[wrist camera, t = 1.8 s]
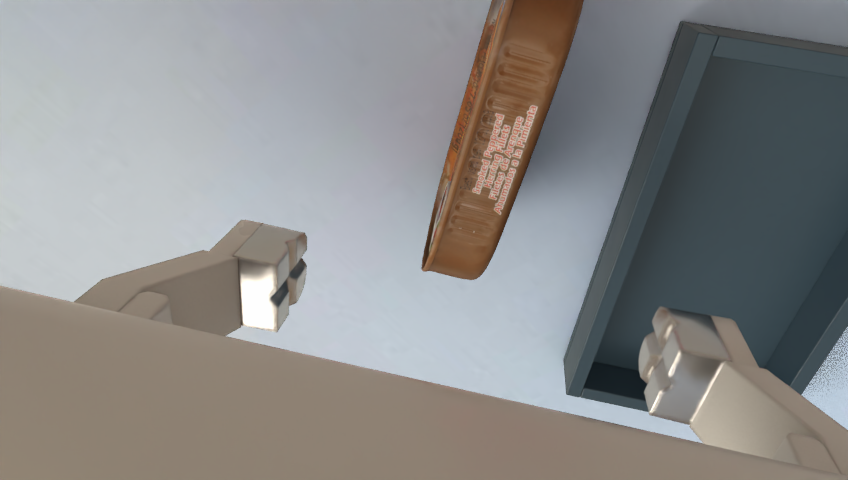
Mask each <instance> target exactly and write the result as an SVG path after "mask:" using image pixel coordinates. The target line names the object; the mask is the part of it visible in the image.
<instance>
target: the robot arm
mask: <svg viewBox="0 0 848 480" xmlns="http://www.w3.org/2000/svg"><path fill="white" fill-rule="evenodd" d="M306 250H307V237H306V235H305V233H303V232H299V231H294V230H290V229H286V228H281V227H277V226H272V225H268V224H263V223H259V222H254V221H249V220H241V221H240V222H239V223H238V224H237V225H236V226H235V227H233V228H232V229H231V230H230V231H229V232H228V233H227V234H226V235H225V236H224V237H223V238H222V239H221V240H220V241H219V242H218V243H217V244H216V245H215V246H214V247H213V248H212V249H211V250H210V251H204V250H202V251H198V252H195V253H191V254H188V255H185V256H181V257H178V258H174V259H171V260H167V261H164V262H160V263H157V264H153V265H150V266H147V267H143V268H140V269H136V270H133V271H129V272H126V273H122V274H119V275H115V276H112V277H109V278H105V279H102V280H101V281H99V282H98V283H97V284H96V285H94V286H93V287H92V288H91V289H89V290H88V291H87V292H86V293H84V294H83V295H82V296H81V297H79V298H78V299H77V300H76V301H74V302H71V301H66V300H62V299H57V298H53V297H48V296H44V295H39V294H35V293H31V292H26V291H22V290H17V289H13V288H8V287H4V286H0V480H848V430H847V429H845V428H844V427H843V426H841V425H840V424H839V423H837V422H836V421H835V420H833V419H832V418H831V417H829V416H828V415H827V414H825V413H824V412H823V411H821V410H820V409H819V408H817V407H816V406H815V405H813V404H812V403H811V402H809V401H808V400H807V399H805V398H804V397H803V396H801V395H800V394H799V393H797V392H796V391H795V390H793V389H792V388H791V387H789V386H788V385H787V384H785V383H784V382H783V381H781V380H780V379H779V378H778V377H776V376H775V375H774V374H772V373H771V372H770V371H768V370H767V369H763V368H759V366H758V365H757V363H756V361H755V359H754V357H753V355H752V353H751V351H750V349H749V347H748V345H747V343H746V342H745V340H744V338H743V336H742V334H741V332H740V330H739V328H738V326H737V324H736V322H735V321H733V320H732V319H730V318H724V317H718V316H712V315H706V314H700V313H694V312H689V311H683V310H678V309H672V308H667V307H661V306H660V307H659V309H658V310H657V311H656V313H655V315H654V317H653V319H652V323H653V327H654V330H655V331H653V332H652V333H650V334H649V335H647V336H645V338H644V341H643V343H642V346H641V348H640V354H639V360H638V363H639V373H640V377H641V378H642V379H643V380H644V381H645V382H646V383H647V386H646V389H645V391H644V395H645V399H646V403H647V407H648V411H649V415H652V416H656V417H660V418H664V419H668V420H672V421H676V422H680V423H684V424H688V425H690V428H691V429H692V430H693V431H694V433H695V434H696V435H697V436H698V437H699V439H700V440H701V441H702V442H703V443H704V444H703V443H699V442H694V441H690V440H685V439H681V438H676V437H672V436H667V435H663V434H658V433H654V432H650V431H645V430H641V429H636V428H632V427H627V426H623V425H618V424H614V423H609V422H605V421H600V420H596V419H592V418H587V417H583V416H578V415H574V414H569V413H565V412H560V411H556V410H551V409H547V408H543V407H538V406H534V405H529V404H525V403H520V402H516V401H511V400H507V399H502V398H498V397H494V396H489V395H485V394H480V393H476V392H471V391H467V390H462V389H458V388H453V387H449V386H445V385H440V384H436V383H431V382H427V381H422V380H418V379H413V378H409V377H404V376H400V375H396V374H391V373H387V372H382V371H378V370H373V369H369V368H364V367H360V366H355V365H351V364H347V363H342V362H338V361H333V360H329V359H324V358H320V357H315V356H311V355H306V354H302V353H298V352H293V351H289V350H284V349H280V348H275V347H271V346H266V345H262V344H258V343H253V342H249V341H244V340H240V339H235V338H231V337H226V335H228V334H229V333H231V332H233V331H235V330H237V329H238V328H240V327H241V325H242V326H248V327H253V328H258V329H263V330H268V331H273V332H278V330H279V329H280V327H281V326H282V324H283V322H284V321H285V319H286V318H287V316H288V315H289V306H290V305H292V304H295V303H296V302H297V301H298V299H299V297H300V296H301V293H302V290H303V288H304V285H305V279H306V268H307V265H306V264H305V262H304V261H303V259H302V258H301V257H302V256H303V254H304V253H305V252H306Z"/></svg>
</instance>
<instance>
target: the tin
mask: <svg viewBox="0 0 848 480" xmlns="http://www.w3.org/2000/svg"><path fill="white" fill-rule="evenodd" d="M583 1H584V0H492V2H491V6H490V9H489V12H488V15H487V19H486V22H485V26H484V29H483V33H482V36H481V40H480V43H479V46H478V50H477V54H476V57H475V61H474V64H473V67H472V71H471V74H470V78H469V81H468V85H467V88H466V92H465V95H464V98H463V102H462V105H461V109H460V112H459V116H458V119H457V122H456V126H455V129H454V133H453V136H452V140H451V143H450V147H449V150H448V154H447V157H446V161H445V165H444V169H443V173H442V176H441V180H440V184H439V187H438V191H437V195H436V200H435V203H434V208H433V212H432V217H431V222H430V226H429V231H428V236H427V241H426V245H425V249H424V256H423V260H422V271H433V272H437V273H441V274H445V275H449V276H453V277H457V278H462V279H468V280H474V279H477V278H478V277H479V276H480V275H482V273H483V272H484V271H485V269H486V268H487V266H488V264H489V262H490V260H491V258H492V256H493V254H494V252H495V250H496V247H497V245H498V242H499V240H500V237H501V235H502V232H503V230H504V227H505V224H506V222H507V219H508V217H509V214H510V211H511V209H512V206H513V204H514V201H515V199H516V196H517V193H518V190H519V188H520V186H521V183H522V180H523V178H524V175H525V172H526V170H527V167H528V164H529V162H530V159H531V156H532V153H533V151H534V148H535V145H536V143H537V140H538V138H539V135H540V132H541V129H542V126H543V124H544V121H545V118H546V115H547V113H548V110H549V108H550V105H551V102H552V99H553V96H554V93H555V91H556V88H557V85H558V82H559V79H560V77H561V74H562V71H563V68H564V66H565V63H566V60H567V57H568V54H569V50H570V47H571V44H572V41H573V38H574V35H575V31H576V28H577V24H578V21H579V17H580V14H581V10H582V5H583Z"/></svg>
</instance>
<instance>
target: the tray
mask: <svg viewBox="0 0 848 480" xmlns="http://www.w3.org/2000/svg"><path fill="white" fill-rule="evenodd" d="M660 306H661V307H667V308H672V309H678V310H683V311H689V312H694V313H700V314H706V315H712V316H718V317H724V318H730V319H732V320H733V321H735V322H736V324H737V326H738V328H739V330H740V332H741V334H742V336H743V338H744V340H745V342H746V343H747V345H748V347H749V349H750V351H751V353H752V355H753V357H754V359H755V361H756V363H757V365H758V366H759V368H763V369H767V370H768V371H770V372H771V373H772V374H774V375H775V376H776V377H778V378H779V379H780V380H781V381H783V382H784V383H785V384H787V385H788V386H789V387H791V388H792V389H793V390H795V391H796V392H797V393H799V394H800V395H801V394H802V393H803V391H804V390H805V388H806V387H807V385H808V384H809V382H810V381H811V379H812V378H813V376H814V375H815V374H816V372H817V371H818V369H819V368H820V366H821V365H822V363H823V362H824V360H825V359H826V357H827V356H828V354H829V353H830V351H831V350H832V348H833V347H834V345H835V344H836V342H837V341H838V339H839V338H840V336H841V335H842V333H843V332H844V330H845V329H846V327H847V326H848V47H842V46H835V45H829V44H823V43H817V42H810V41H804V40H798V39H791V38H785V37H779V36H773V35H766V34H760V33H754V32H748V31H741V30H735V29H729V28H722V27H716V26H710V25H704V24H697V23H691V22H685V21H681V22H680V25H679V28H678V31H677V34H676V37H675V40H674V42H673V45H672V48H671V51H670V54H669V57H668V60H667V63H666V65H665V68H664V71H663V74H662V77H661V80H660V83H659V86H658V89H657V91H656V94H655V97H654V100H653V103H652V106H651V109H650V112H649V115H648V117H647V120H646V123H645V126H644V129H643V132H642V135H641V138H640V141H639V143H638V146H637V149H636V152H635V155H634V158H633V161H632V164H631V166H630V169H629V172H628V175H627V178H626V181H625V184H624V187H623V190H622V192H621V195H620V198H619V201H618V204H617V207H616V210H615V213H614V216H613V218H612V221H611V224H610V227H609V230H608V233H607V236H606V239H605V242H604V244H603V247H602V250H601V253H600V256H599V259H598V262H597V265H596V267H595V270H594V273H593V276H592V279H591V282H590V285H589V288H588V291H587V293H586V296H585V299H584V302H583V305H582V308H581V311H580V314H579V317H578V319H577V322H576V325H575V328H574V331H573V334H572V337H571V340H570V342H569V345H568V348H567V351H566V354H565V357H564V371H565V384H566V394H567V395H571V396H576V397H581V398H586V399H591V400H595V401H600V402H605V403H609V404H614V405H619V406H623V407H628V408H633V409H638V410H642V411H647V412H649V411H648V407H647V403H646V399H645V395H644V391H645V389H646V386H647V383H646V382H645V381H644V380H643V379H642V378H641V377H640V373H639V363H638V360H639V354H640V348H641V346H642V343H643V341H644V338H645V336H647V335H649V334H650V333H652V332H653V331H655V330H654V327H653V323H652V319H653V317H654V315H655V313H656V311H657V310H658V309H659V307H660Z"/></svg>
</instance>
